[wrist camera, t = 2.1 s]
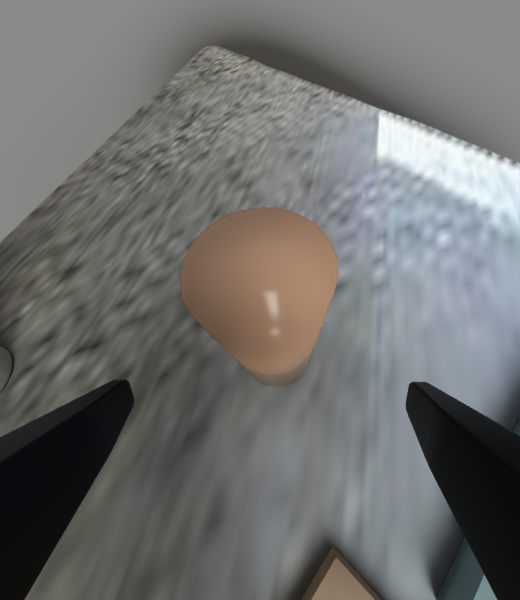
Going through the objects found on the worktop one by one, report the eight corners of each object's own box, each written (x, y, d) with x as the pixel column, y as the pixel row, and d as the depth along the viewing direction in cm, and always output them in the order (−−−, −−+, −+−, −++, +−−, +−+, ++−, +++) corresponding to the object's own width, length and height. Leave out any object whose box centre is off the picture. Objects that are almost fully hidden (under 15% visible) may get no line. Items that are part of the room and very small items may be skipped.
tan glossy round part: (281, 402, 17) (264, 383, 6) (230, 355, 19) (149, 279, 8) (324, 346, 18) (371, 252, 8) (272, 308, 20) (251, 188, 9)
